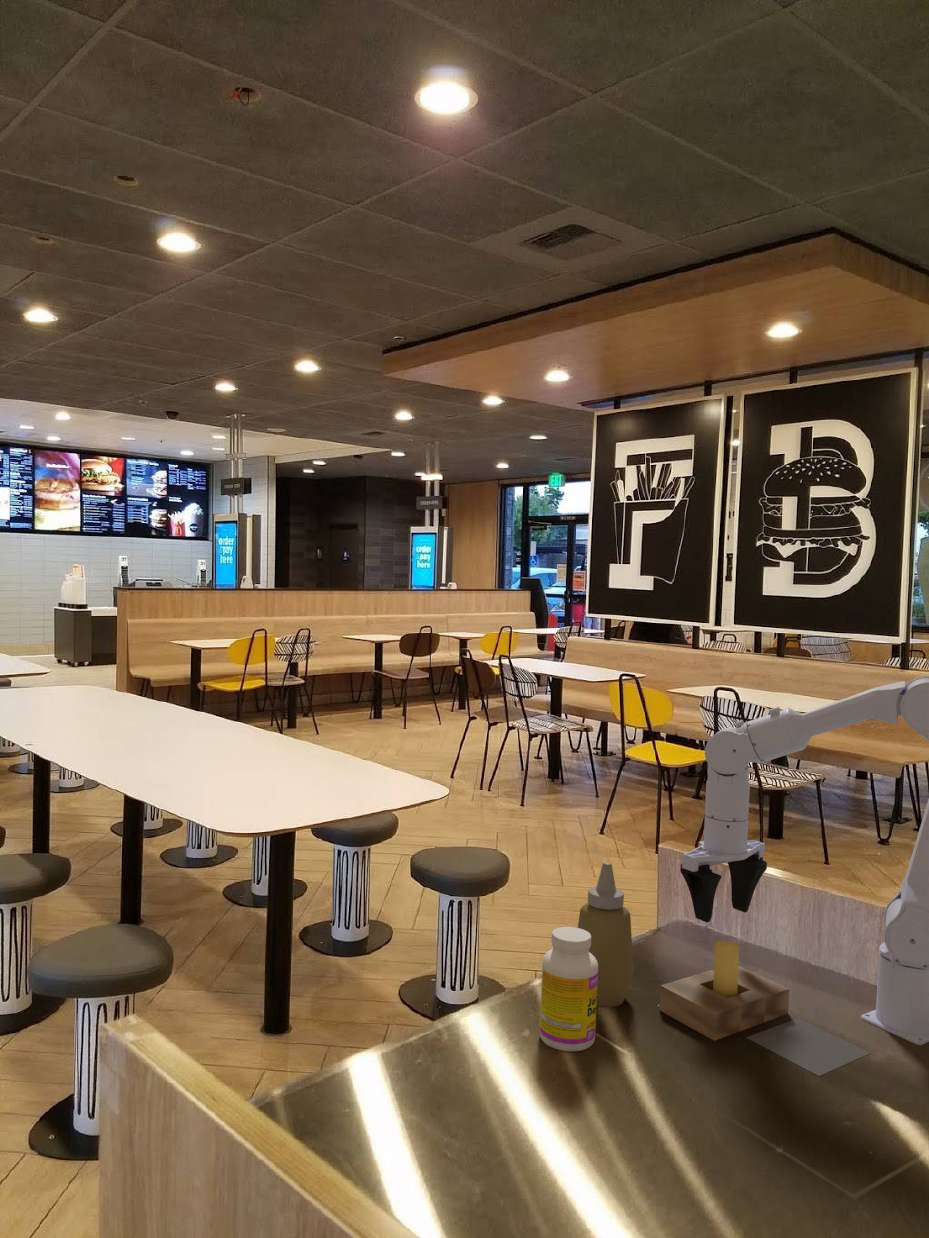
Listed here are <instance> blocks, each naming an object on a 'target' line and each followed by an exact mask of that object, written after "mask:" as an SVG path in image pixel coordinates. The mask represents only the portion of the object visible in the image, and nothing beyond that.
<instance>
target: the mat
mask: <svg viewBox="0 0 929 1238" xmlns="http://www.w3.org/2000/svg"><path fill="white" fill-rule="evenodd" d="M746 1039H747V1040H750V1041H752V1042H754V1043H755V1044H757V1045H759V1046H761V1047H763V1048H765V1049H766V1050H768V1051H771V1052H772V1053H774V1054H776V1055H777V1056H780V1057H782V1058H784V1059H785V1060H787V1061H789V1062H791V1063H793V1064H795V1065H796V1066H799V1067H800V1068H803V1069H804V1070H806V1071H808V1072H810V1073H812V1074H814V1075H815V1076H817V1077H821V1076H824V1075H825V1074H828V1073H830V1072H833V1071H835V1070H837V1069H839V1068H841V1067H844V1066H845V1065H847V1064H850V1063H852V1062H854V1061H857V1060H860V1059H861V1058H864V1057H866V1056H868V1055H871V1052H869V1051H867V1050H865V1049H863V1048H861V1047H859V1046H858V1045H855V1044H853V1043H851V1042H849V1041H847V1040H845V1039H843V1038H840V1037H838V1036H836V1035H835V1034H831V1032H828V1031H827V1030H824V1029H821V1028H820V1027H818V1026H815V1025H814V1024H811V1023H809V1022H808V1021H805V1020H803V1019H801V1018H799V1017H796V1018H794V1019H792V1020H789V1021H787V1022H786V1021H785V1022H784V1023H781V1024H779V1025H776V1026H773V1027H770V1028H768V1029H765V1030H763V1031H760V1032H757V1033H755V1034H752V1035H749V1036H747V1037H746Z"/></svg>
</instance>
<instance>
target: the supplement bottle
mask: <svg viewBox="0 0 929 1238" xmlns="http://www.w3.org/2000/svg"><path fill="white" fill-rule="evenodd" d="M550 943H551V946H552V949H549V950H548V951H547V952H546V953H545V954H544V955H543V958H542V965H541V966H542V967H541V968H542V969H541V990H540V992H541V993H540V1007H539V1008H540V1009H539V1012H540V1013H539V1037H540V1038H541V1041H542V1042H543V1043H544V1044H546V1045H547V1046H548V1047H550V1048H552V1049H554V1050H559V1051H562V1052H574V1053H575V1052H580V1051H585V1050H587V1049H589V1048H590V1047H592V1045H594V1043H595V1041H596V1040H595V1038H596V1028H597V1027H596V1025H597V982H598V963H597V960H596V958H595V957H594V956H593V955H592V954H591V953H589V949H590V947H591V934H590V933H589V932H587V931H585V930H583V929H580V928H578V927H574V926H562V927H561V926H560V927H557V928H555V929H553V930H552V932H551V941H550Z"/></svg>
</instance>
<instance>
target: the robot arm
mask: <svg viewBox="0 0 929 1238" xmlns="http://www.w3.org/2000/svg"><path fill="white" fill-rule="evenodd" d="M768 712H769V713H768V714H767V715H764V716H760V717H757V718H754V719H752V720H749V721H746V722H744V719H741V720H738V721H735V722H734V725H735V727H733V726H730V727H724V728H723V729H720V730H719V731H717V732H715V734H713V735H712V736H711V737H710V738H709V739H708V741H707V742H706V745H705V748H704V757H705V760H706V763H707V764H708V765H707V767H708V768H707V772H706V773H707V780H706V784H705V803H704V804H705V805H704V806H705V807H704V826H703V827H704V829H703V840H701V841H698V847H696V848H694V849H692V850H691V851H689V852H684V853H682V863H680V866H679V868H680V873H681V875H682V877H683V879H684V880H685V883H686V885H687V887H688V890H689V891H688V892H689V894H690V897H691V901H692V902H691V903H692V906H693V911H694V917H695V919H697V920H699V921H702V922H705V923H710V922H711V921H712V917H713V910H714V901H715V895H716V892H717V889H718V886H719V883H720V881H721V879H722V875H720V874H718V873H714V872H713V869H710V868H711V867H712V866H717V865H722V864H725V863H727V865H728V870H729V875H730V882H731V905H732V906H731V907H732V908H733V909H734V910H737V911H740V912H743V913H747V912H748V910H749V909H750V905H751V903H752V902H751V901H752V899H753V895H754V892H755V891H756V887H757V886H758V883H759V882H760V880H761V878H762V876H763V875H764V873H765V872H766V871H767V868H768V863H767V861H765V860H763V859H759V858H764V857H765V849H766V844H765V842H761V841H759V840H755V839H751V840H748V834H749V833H748V830H749V810H750V793H751V792H750V790H751V786H750V783H749V782H750V766H749V764H750V763H756V764H762V763H765V762H768V761H772V760H775V759H778V758H781V757H784V756H788V755H791V754H794V753H798V752H800V751H803V750H805V749H806V748H807V747H808V744H809V743H810V741H811V738H812V737H814V736H815V737H816V736H817V735H818V736H819V735H821V734H824V733H828V732H832V731H836V730H838V729H841V728H846V727H850V726H853V725H856V724H860V723H863V722H867V721H871V720H876V721H880V722H884V723H889V724H892V725H898V724H899V723H898V720H899V716H901V717H902V719H903V721H904V722H905V723H906V725H908V727H909V728H911V729H912V730H913V731H915V732H916V733H917V734H918V735H920V736H921V737H922V738H924V739H925V740H926V741H927V742H929V676H920V677H916V678H914V679H912V680H910V681H908V682H907V683H906V681H903V680H902V681H897V682H893V683H889V684H884V685H881V686H876V687H872V688H870V689H867V690H864V691H861V692H859V693H856V694H853V695H850V696H848V697H845V698H843V699H839V700H838V701H837V700H836V701H834V702H832V703H828V704H827V705H823V706H821V707H818V708H815V709H813V710H810V711H807V712H804V713H803V712H799V711H797V710H794V709H792V708H790V707H787V708H785V709H781V707H780V706H776V707H773V708H770V709H769V710H768ZM924 810H925V811H924V813H923V816H922V819H921V820H922V821H921V824H920V826H919V830H918V833H917V837H916V840H915V843H914V845H913V846H914V847H913V851H912V854H911V855H910V856H911V858H910V861H909V863H908V866H907V870H906V874H905V875H904V877H903V879H902V882H901V884H900V887H899V891H898V892H897V894H896V895H895V896H894V897H893V898H892V899H891V900H890V901H888V903H887V905H886V906H885V909H884V921H885V929H884V933H883V939H884V942H882V943H881V944H880V945H879V948H878V964H877V965H878V966H877V983H876V984H877V985H876V988H877V989H876V1002H875V1009H873V1010H871V1011H868V1012H866V1013H863V1014H861V1015H860V1019H861V1021H863V1022H866V1023H868V1024H870V1025H873V1026H874V1027H877V1028H879V1029H882V1030H883V1031H886V1032H888V1033H891V1034H893V1035H894V1036H897V1037H899V1038H901V1039H904V1040H906V1041H908V1042H911V1043H913V1044H914V1045H917V1046H923V1045H925V1044H927V1043H929V798H928V799H927V803H926V806H925V809H924Z"/></svg>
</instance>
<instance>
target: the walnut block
mask: <svg viewBox="0 0 929 1238" xmlns="http://www.w3.org/2000/svg"><path fill="white" fill-rule="evenodd" d="M713 979H714V968H713V969H709V970H706V971H703V972H700V973H696V974H693V975H689V976H687V977H684V978H679V979H677V980H674V981H671V982H667V983H664V984H661V985H660V988H659V1009H658V1011H660V1012H661V1013H664V1014H665V1015H667V1016H669V1017H671V1018H673V1019H674V1020H676V1021H678V1022H679V1023H681V1024H683V1025H685V1026H686V1027H688V1028H691V1029H692V1030H694V1031H696V1032H698V1033H699V1034H702V1035H703V1036H705V1037H707V1039H710V1040H712V1041H713V1042H714V1041H717V1040H720V1039H722V1038H723V1039H724V1038H726V1037H729V1036H731V1035H733V1034H737V1033H739V1032H741V1031H745V1030H747V1029H751V1028H753V1027H756V1026H759V1025H760V1024H764V1023H767V1022H769V1021H772V1020H774V1019H777V1018H779V1017H782V1016H785V1015H788V1014H789V1004H790V1003H789V1001H790V1000H789V999H790V998H789V997H790V988H789V987H786V986H784V985H781V984H779V983H777V982H775V981H774V980H772V979H768V978H766V977H765V976H762V975H760V974H758V973H756V972H753V971H751V970H749V969H746V968H744V967H742V966H740V965H738V991H737V995H734V996H731V997H728V998H726V997H724V996H722V995H720V994H718V993H716V992H714V991H713Z"/></svg>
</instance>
